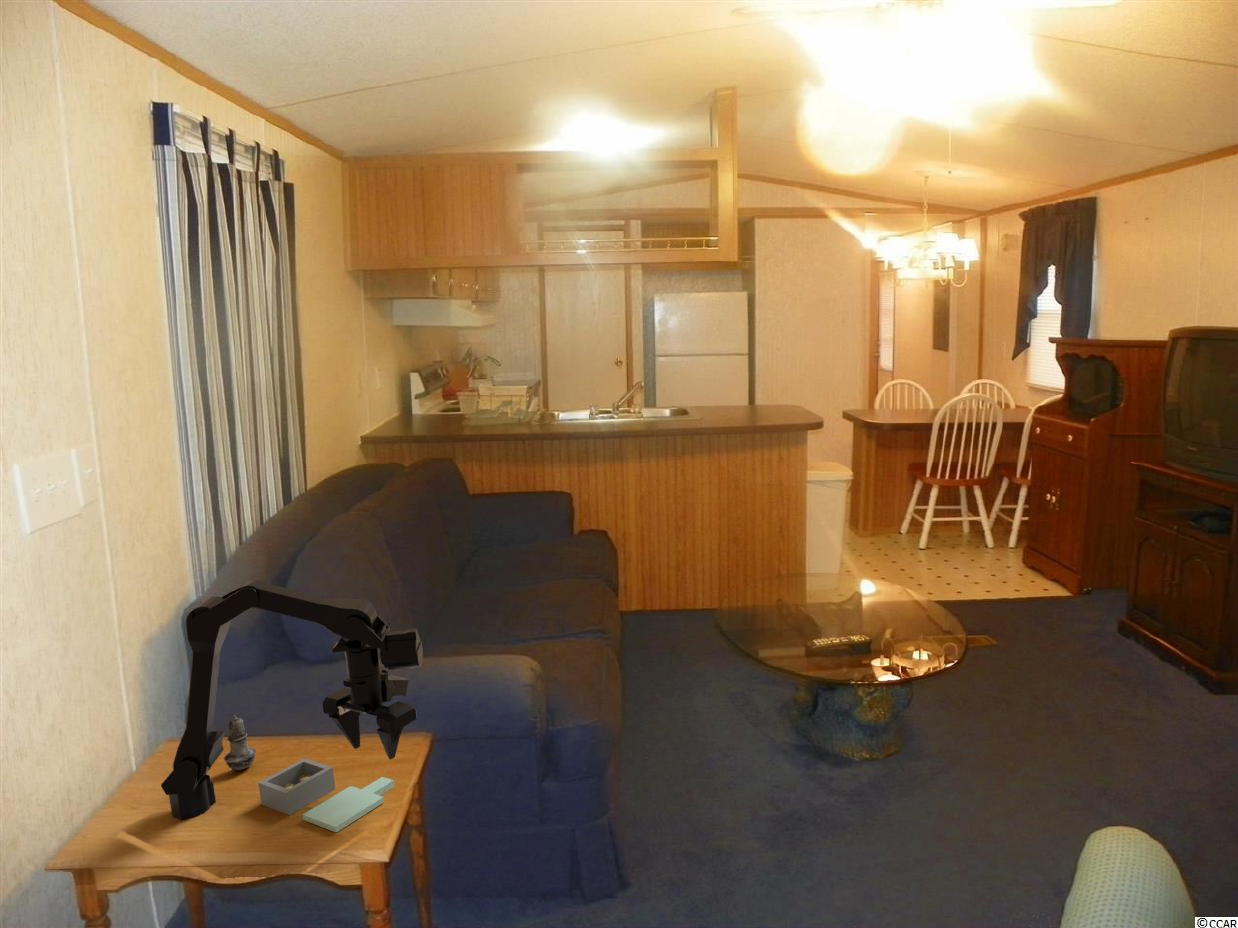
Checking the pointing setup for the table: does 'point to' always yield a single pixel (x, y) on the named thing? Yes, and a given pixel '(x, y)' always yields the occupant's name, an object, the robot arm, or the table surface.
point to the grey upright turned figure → (238, 747)
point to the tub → (296, 786)
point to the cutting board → (348, 805)
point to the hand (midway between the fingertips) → (374, 752)
